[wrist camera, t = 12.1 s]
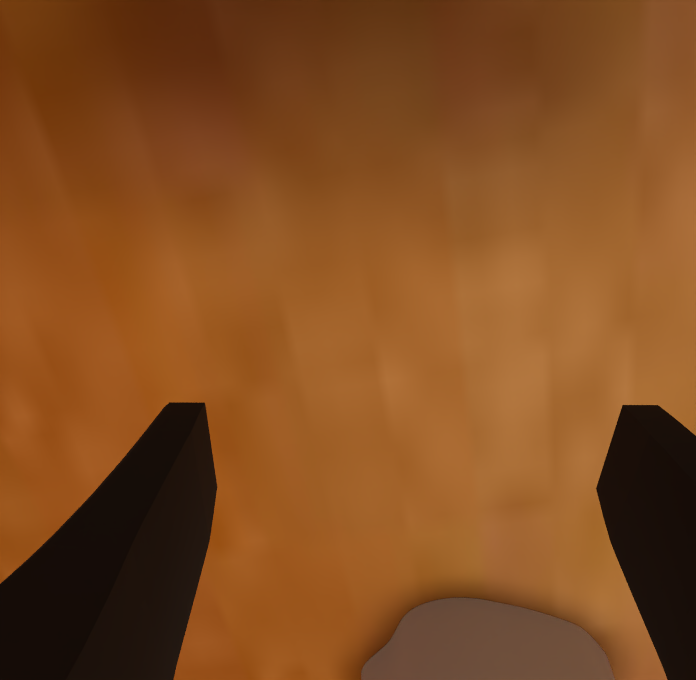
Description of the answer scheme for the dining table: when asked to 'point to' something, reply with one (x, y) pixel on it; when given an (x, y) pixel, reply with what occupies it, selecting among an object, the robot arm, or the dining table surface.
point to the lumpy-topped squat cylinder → (486, 645)
